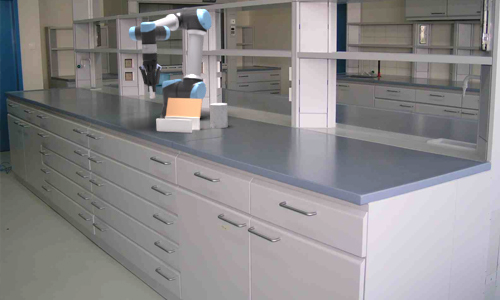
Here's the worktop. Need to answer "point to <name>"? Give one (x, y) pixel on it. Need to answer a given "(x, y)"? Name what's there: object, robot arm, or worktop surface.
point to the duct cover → (184, 107)
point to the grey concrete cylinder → (218, 115)
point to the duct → (178, 124)
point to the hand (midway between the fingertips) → (152, 98)
